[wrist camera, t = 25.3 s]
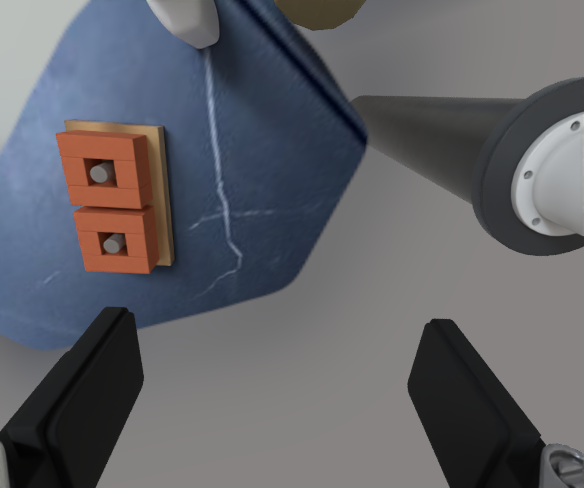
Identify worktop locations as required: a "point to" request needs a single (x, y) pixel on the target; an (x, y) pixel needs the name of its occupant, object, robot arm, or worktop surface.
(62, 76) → the worktop surface
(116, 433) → the robot arm
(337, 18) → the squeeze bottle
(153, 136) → the base board
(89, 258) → the orange square ring block
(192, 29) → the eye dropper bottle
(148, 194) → the pad
